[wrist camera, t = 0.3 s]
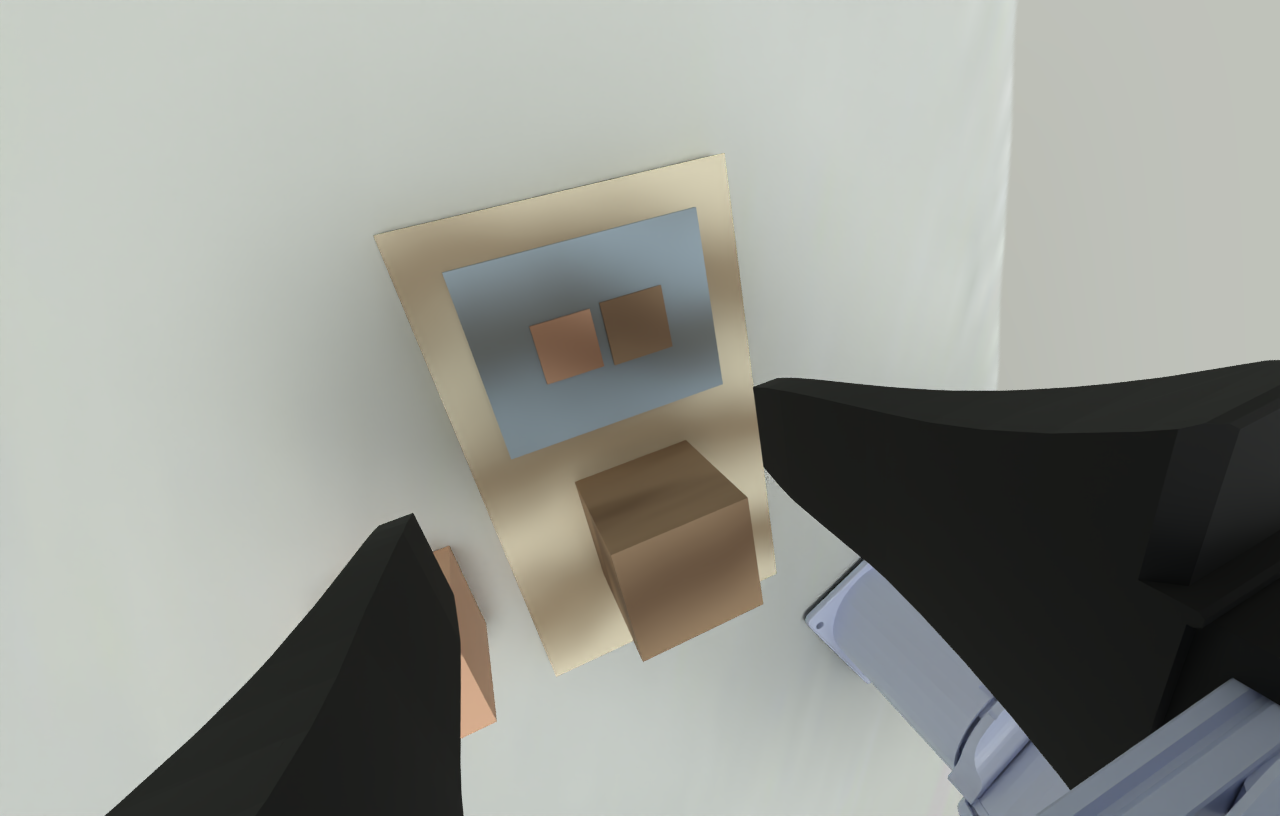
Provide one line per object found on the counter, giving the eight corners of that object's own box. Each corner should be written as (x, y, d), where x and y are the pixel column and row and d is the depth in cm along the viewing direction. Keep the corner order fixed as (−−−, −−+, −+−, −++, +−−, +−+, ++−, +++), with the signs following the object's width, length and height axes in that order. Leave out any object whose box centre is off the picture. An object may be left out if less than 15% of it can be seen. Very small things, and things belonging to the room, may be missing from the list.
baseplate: (765, 562, 27) (843, 645, 22) (552, 660, 24) (582, 782, 19) (711, 155, 19) (815, 133, 14) (376, 234, 16) (345, 244, 11)
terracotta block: (485, 622, 23) (496, 721, 18) (381, 667, 22) (365, 784, 17) (449, 545, 21) (451, 634, 16) (332, 589, 20) (301, 698, 15)
